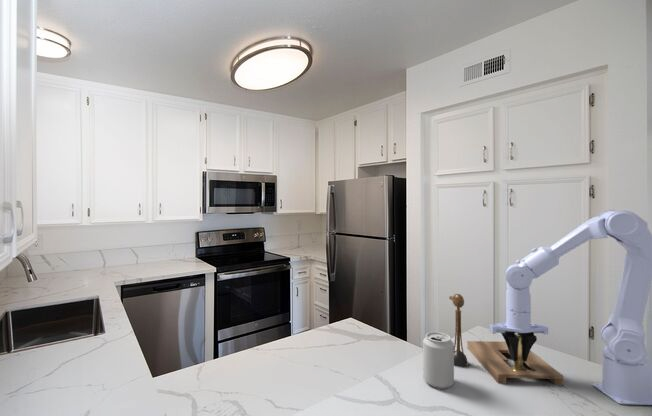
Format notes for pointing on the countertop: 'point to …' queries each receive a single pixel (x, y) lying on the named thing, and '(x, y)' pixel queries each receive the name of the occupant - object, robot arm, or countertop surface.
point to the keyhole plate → (497, 363)
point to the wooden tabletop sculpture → (458, 332)
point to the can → (438, 360)
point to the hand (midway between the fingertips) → (518, 359)
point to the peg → (519, 355)
